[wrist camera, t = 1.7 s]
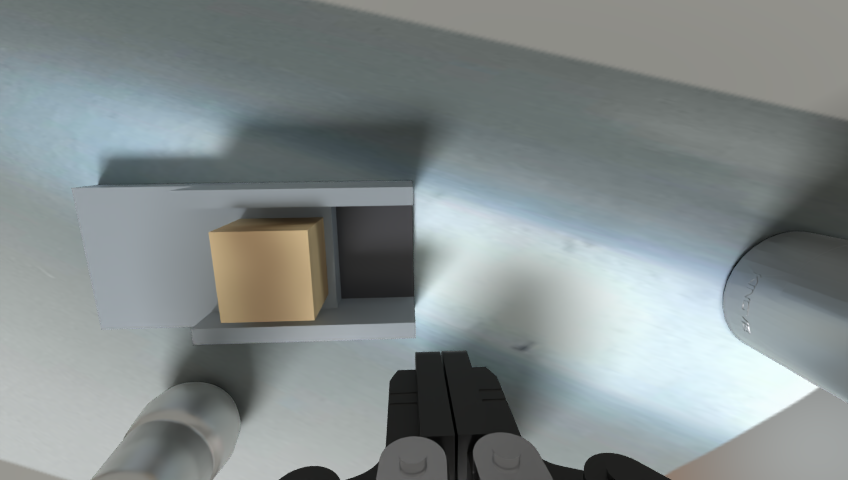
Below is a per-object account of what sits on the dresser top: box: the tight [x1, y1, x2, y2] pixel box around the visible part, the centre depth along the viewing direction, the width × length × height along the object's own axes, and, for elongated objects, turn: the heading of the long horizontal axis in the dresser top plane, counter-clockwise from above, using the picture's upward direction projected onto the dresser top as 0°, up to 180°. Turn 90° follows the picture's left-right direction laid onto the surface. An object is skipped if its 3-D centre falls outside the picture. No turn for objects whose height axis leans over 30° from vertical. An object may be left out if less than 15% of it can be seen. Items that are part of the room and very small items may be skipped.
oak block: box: [209, 217, 328, 323], centre depth 23 cm, size 5×5×4 cm
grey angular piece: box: [72, 180, 416, 345], centre depth 25 cm, size 20×9×4 cm, turn 91°
